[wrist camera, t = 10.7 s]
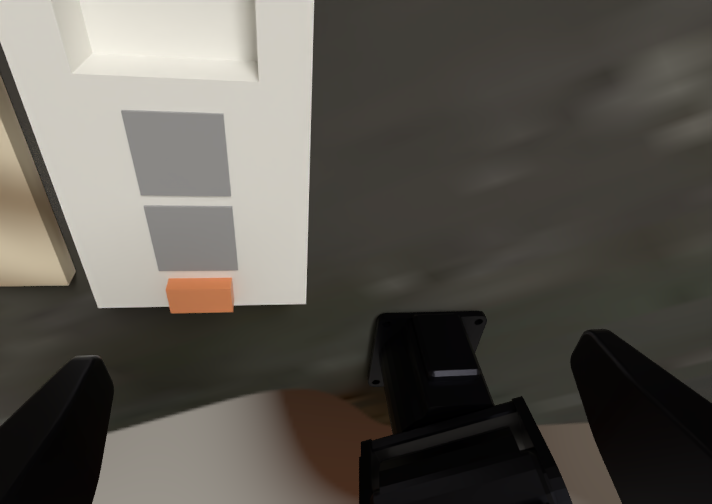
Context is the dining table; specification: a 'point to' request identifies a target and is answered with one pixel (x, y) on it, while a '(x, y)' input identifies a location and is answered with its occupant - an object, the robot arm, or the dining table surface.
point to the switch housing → (174, 142)
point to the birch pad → (26, 214)
